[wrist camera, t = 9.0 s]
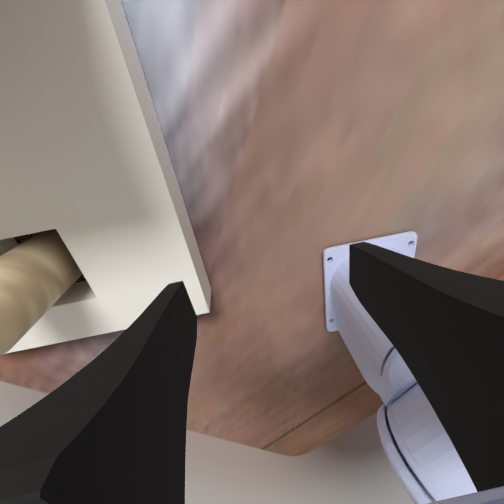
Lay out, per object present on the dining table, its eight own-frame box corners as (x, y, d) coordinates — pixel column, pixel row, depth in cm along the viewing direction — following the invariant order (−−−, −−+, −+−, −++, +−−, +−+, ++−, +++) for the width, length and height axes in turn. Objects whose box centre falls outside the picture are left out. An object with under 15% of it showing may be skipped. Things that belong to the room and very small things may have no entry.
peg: (101, 268, 20) (33, 348, 13) (52, 278, 20) (-43, 363, 13) (76, 223, 18) (-20, 287, 11) (22, 233, 18) (-109, 304, 11)
